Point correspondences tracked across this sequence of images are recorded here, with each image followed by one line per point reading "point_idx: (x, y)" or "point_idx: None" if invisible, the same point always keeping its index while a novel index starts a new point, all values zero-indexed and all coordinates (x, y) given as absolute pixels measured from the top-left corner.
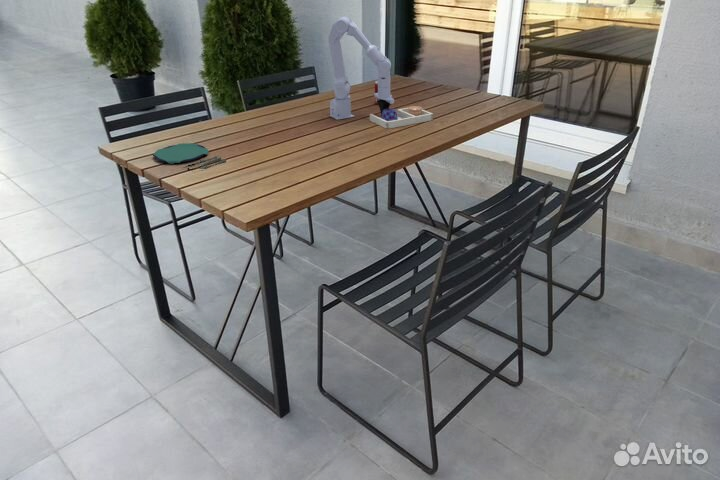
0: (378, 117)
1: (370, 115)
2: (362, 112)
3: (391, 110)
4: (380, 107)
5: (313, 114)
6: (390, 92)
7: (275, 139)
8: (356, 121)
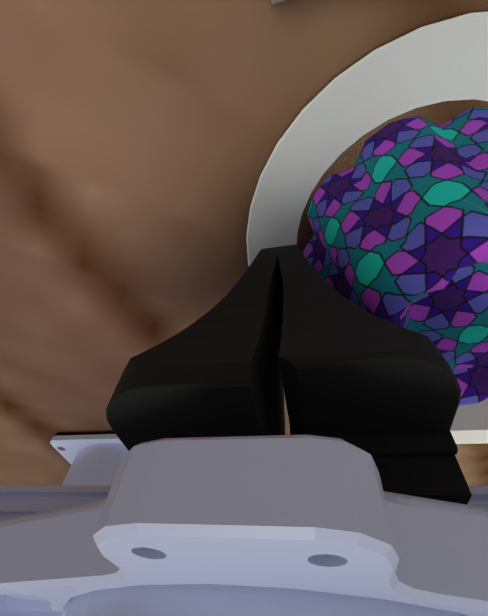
0: (480, 433)
1: None
2: (28, 354)
3: (472, 277)
4: (282, 402)
5: None
6: None
7: None
8: None
